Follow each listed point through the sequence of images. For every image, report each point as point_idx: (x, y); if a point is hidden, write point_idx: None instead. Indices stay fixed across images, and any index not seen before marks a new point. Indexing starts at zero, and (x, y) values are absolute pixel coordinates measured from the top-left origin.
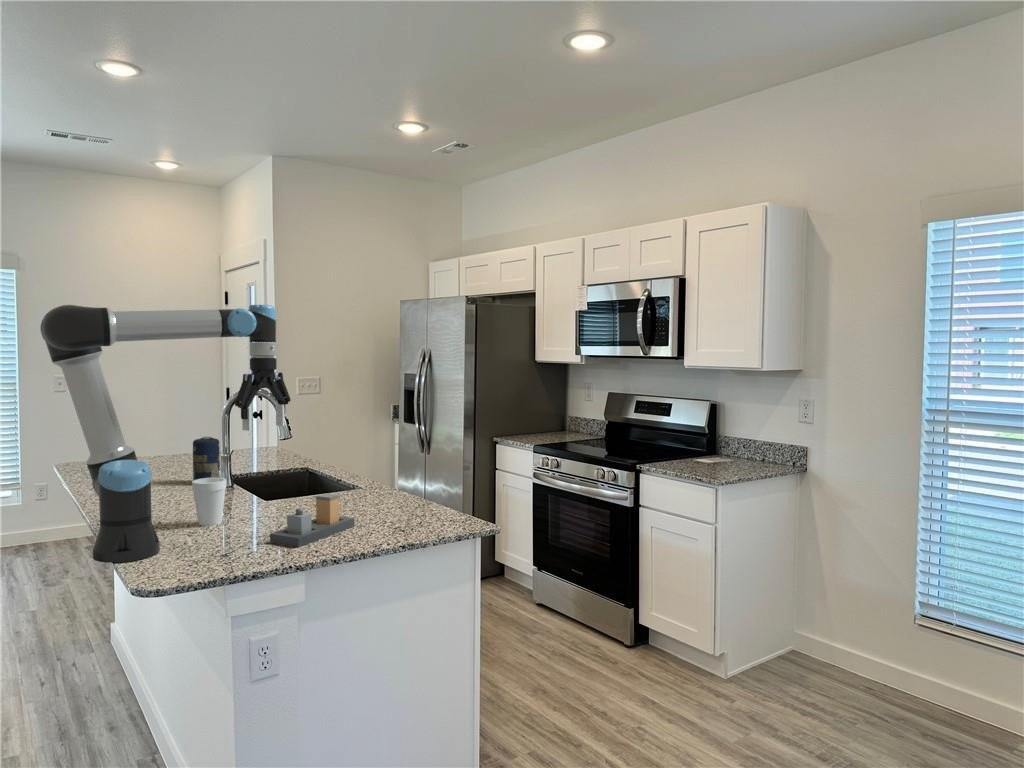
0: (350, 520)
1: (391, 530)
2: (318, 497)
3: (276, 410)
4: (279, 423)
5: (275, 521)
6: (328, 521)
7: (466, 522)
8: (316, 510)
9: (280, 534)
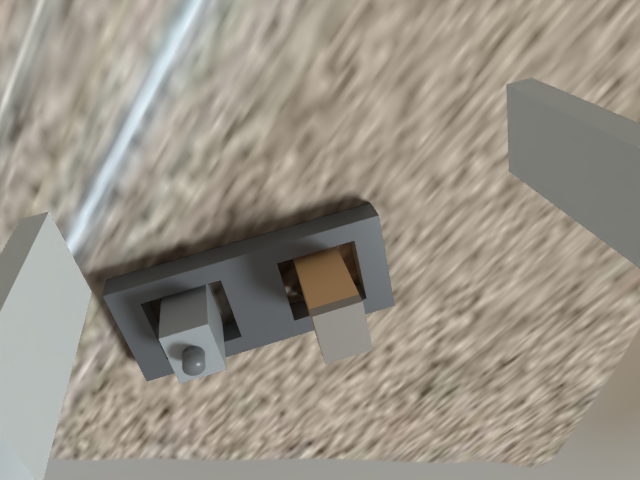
0: (374, 309)
1: (412, 374)
2: (313, 322)
3: (616, 148)
4: (520, 136)
5: (267, 45)
6: (307, 307)
7: (559, 416)
8: (302, 287)
9: (125, 323)
